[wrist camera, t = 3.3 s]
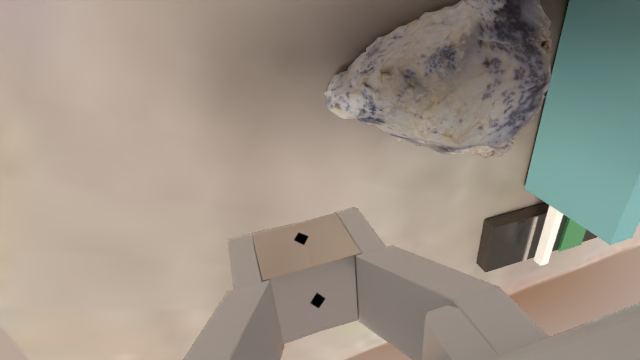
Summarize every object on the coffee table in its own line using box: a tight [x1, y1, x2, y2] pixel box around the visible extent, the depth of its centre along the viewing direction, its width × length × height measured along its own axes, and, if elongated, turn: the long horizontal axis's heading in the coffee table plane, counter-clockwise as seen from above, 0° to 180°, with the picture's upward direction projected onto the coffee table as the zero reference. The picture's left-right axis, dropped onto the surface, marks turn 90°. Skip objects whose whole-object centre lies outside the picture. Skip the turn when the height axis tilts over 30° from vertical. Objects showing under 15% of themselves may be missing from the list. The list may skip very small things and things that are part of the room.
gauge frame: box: [477, 203, 597, 272], centre depth 21 cm, size 25×15×3 cm, turn 5°
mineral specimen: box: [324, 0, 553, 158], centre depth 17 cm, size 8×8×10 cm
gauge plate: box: [524, 0, 640, 266], centre depth 19 cm, size 23×2×6 cm, turn 5°
